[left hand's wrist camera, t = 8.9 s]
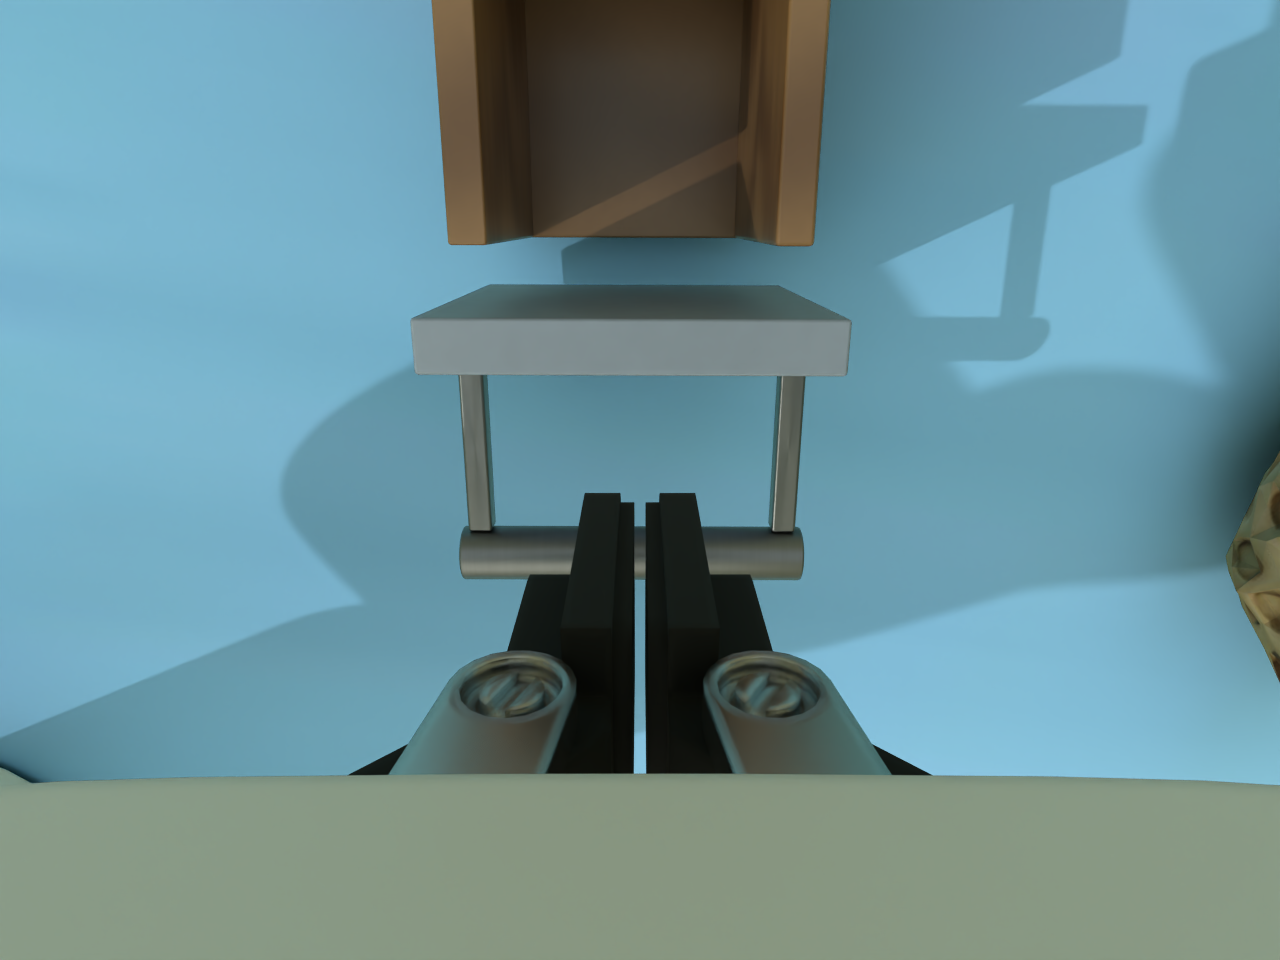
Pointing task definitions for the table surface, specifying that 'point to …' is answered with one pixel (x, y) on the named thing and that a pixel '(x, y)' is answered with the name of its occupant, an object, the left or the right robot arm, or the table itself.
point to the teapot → (1260, 563)
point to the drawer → (630, 223)
